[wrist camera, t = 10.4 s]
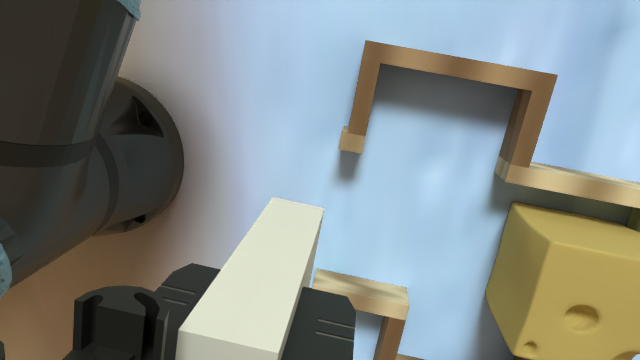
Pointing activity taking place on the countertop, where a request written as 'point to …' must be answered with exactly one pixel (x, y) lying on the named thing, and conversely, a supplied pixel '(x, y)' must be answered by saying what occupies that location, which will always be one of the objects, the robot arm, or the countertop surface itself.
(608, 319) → the cheese
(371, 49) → the trap lane
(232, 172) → the countertop surface
